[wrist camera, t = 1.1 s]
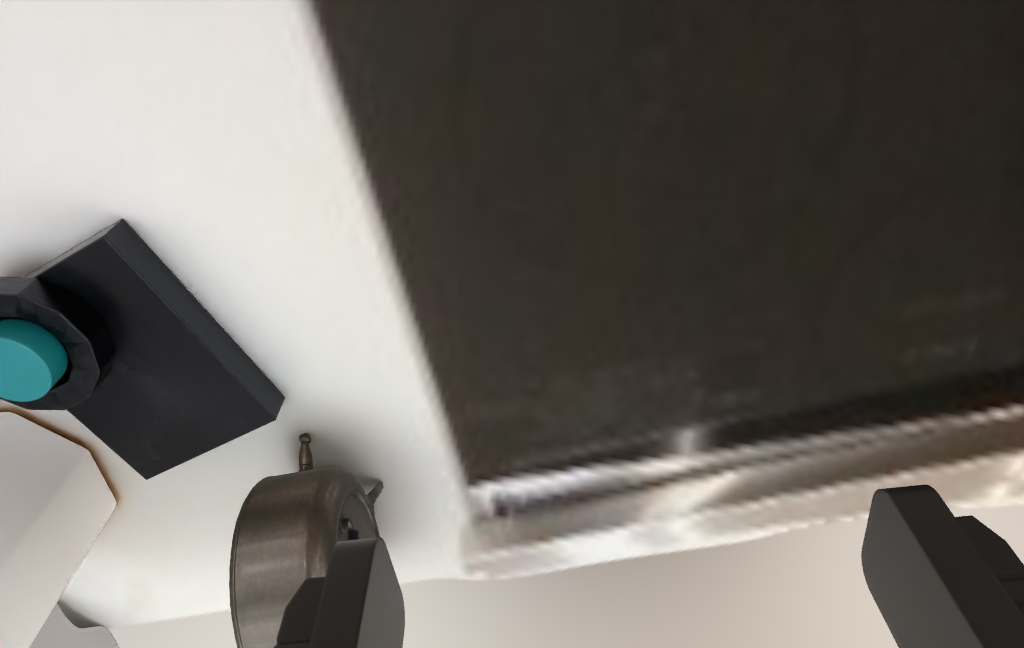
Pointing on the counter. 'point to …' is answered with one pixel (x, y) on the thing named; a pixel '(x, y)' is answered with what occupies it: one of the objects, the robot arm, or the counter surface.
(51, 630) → the grey flat curved piece
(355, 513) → the alarm clock
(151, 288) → the black push-button base
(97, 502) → the cup
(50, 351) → the button
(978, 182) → the counter surface
